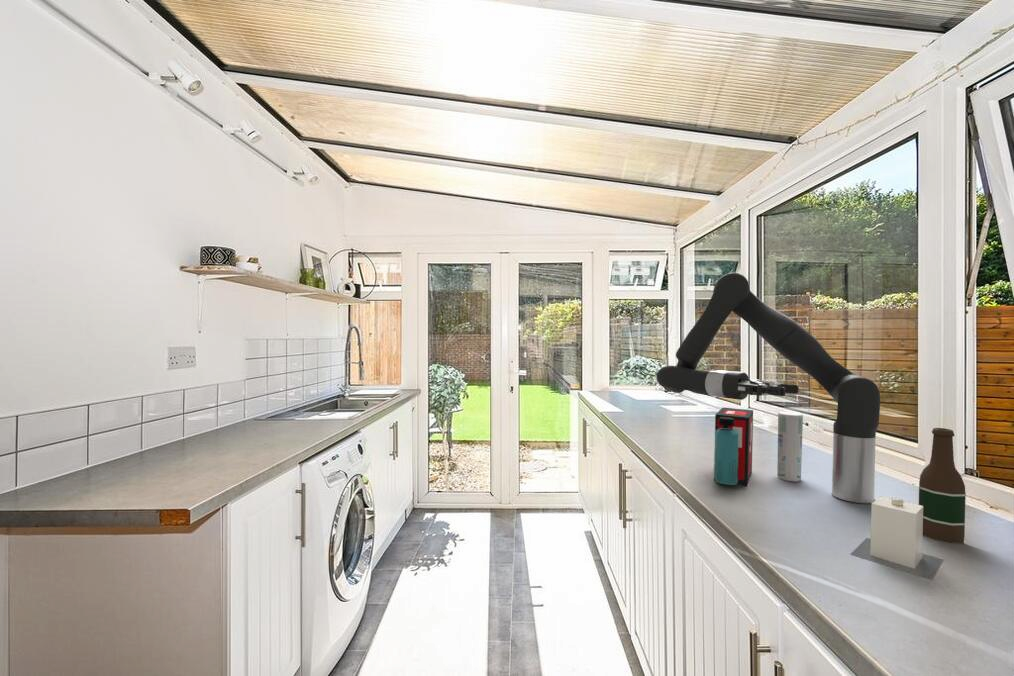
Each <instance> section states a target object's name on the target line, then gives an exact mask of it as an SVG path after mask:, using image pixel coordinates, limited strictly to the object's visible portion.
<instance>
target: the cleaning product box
mask: <svg viewBox="0 0 1014 676" xmlns="http://www.w3.org/2000/svg"><path fill="white" fill-rule="evenodd" d="M714 416H715V417H714V418H715V419H714V432H715V431H716V430H717V429H719V428H729V429H733V430H735V431H736V432H737V433H738V451H739V452H738V460H739V461H738V462H739V463H738V473H739V477H738V483H737V484H735V485H736V486H743V487H748V486H749V482H750V479H751V476H752V474H753V435H754V434H753V433H754V432H753V431H754V409H744V408H743V409H742V408H735V407H722V408H720V409H719V410H718V411H717V412H716V413H715V415H714ZM720 417H729V418H733V419H734V426H723V425H719V418H720ZM713 481H714V482H716V481H715V479H714V478H713Z"/></svg>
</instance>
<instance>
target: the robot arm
mask: <svg viewBox="0 0 1014 676" xmlns="http://www.w3.org/2000/svg"><path fill="white" fill-rule="evenodd" d="M750 288H751V287H750V282H749V280H748V279H747V277H746V276H745V275H743V274H741V273H739V272H728V273H726V274H723V275H721V276H720V277H719V278H718V280H717V281H716V282H715V284H714V287H713V291H712V296H711V298H710V299H709V302H708V304H707V306H706V307H705V308H704V311H703V313H702V314H701V316H700V317H699V319H698V320H697V321H696V322H695V324H694V325H693V326H692V328H691V329H690V331H689V332H688V333H687V335H686V336H685V338H684V340H683V341H682V343H681V344H680V346H679V347H678V349H677V351H676V352H675V357H676V359H677V363H676V365H665V366H662V367H661V368H660V369H658V370H657V371H658V372H656V380H657V383H658V384H659V386H661V387H662V388H663V389H666V390H668V391H670V392H672V393H675V394H680V393H683V392H684V391H688V392H691V393H694V394H697V395H704V396H705V395H706V396H712V397H715V398H723V399H733V400H738V401H739V400H740V401H743V400H745V399H746V398H747V397H748V396H749V395H750V396H758V397H760V396H761V397H762V396H775V397H776V396H777V397H778V396H779V397H785V396H786V394H794V395H797V394H799V388H800V387H799V385H798V384H789V383H788V384H786V383H783V382H781V381H779V382H778V381H772V380H761V379H756V378H755V379H749V376H748V374H747V373H746V372H744V371H733V370H732V371H731V370H730V371H729V370H706V369H697V367H698V364H699V363H700V362H701V360H702V358H703V357H704V355H705V353H706V352H707V350H708V349H709V347H710V346H711V344H712V342H713V340H714V339H715V337H716V335H717V333H718V332H719V330H720V328H722V326H723V323H725V321H726V320H727V318H728V317H729V316H730V315H731V313H733V314H735V315H737V316H738V317H739V318H741V319H743V320H744V321H745V322H746V323H747V324H748V325H749V326H750V327H751V328H752V329H753V330H754V332H756V333H757V334H758V335H759V336H760V337H761V338H762V339H763V340H764V341H765V342H767V344H769V346H771V347H772V349H775V350H776V351H777V352H778V354H780V355H781V356H783V357H784V358H785V359H787V360H788V361H789V362H791V363H792V364H793V365H795V367H797V368H799V369H801V370H802V371H803V372H805V373H806V374H808V375H809V376H810V377H811V378H813V379H814V380H815V381H816V382H817V383H818V384H819V385H820V386H821V387H822V388H823V389H824V390H825V391H826V392H827V393H828V394H829V395H830V396H831V397H832V398H833V400H834V401H835V402H836V403H837V407H836V408H837V409H836V419H835V421H834V422H833V427H832V430H833V434H832V468H831V469H832V473H831V476H832V477H831V494H832V496H833V497H835V498H837V499H839V500H842V501H847V502H851V503H857V504H872V503H873V502H874V501H875V479H876V478H875V477H876V474H875V473H876V439H877V430H878V427H879V425H880V413H881V411H880V410H881V392H880V389H879V387H878V385H877V384H876V383H875V382H874V381H873V380H871V379H870V378H868V377H863V376H861V375H857V374H855V373H854V372H852V371H850V370H849V369H848V368H846V367H845V366H843V365H842V364H840V363H839V362H838V361H836V360H835V359H834V358H833V356H831V355H830V354H829V353H828V352H827V350H826V349H825V348H824V346H823V345H821V343H820V342H819V341H818V340H817V338H815V336H814V335H813V334H811V333H810V332H809V331H808V330H807V329H805V328H804V327H803V326H802V325H800V323H798V322H797V321H796V320H794V319H793V318H791V317H790V316H787V315H786V314H784V313H782V312H780V311H779V310H777V309H775V308H774V307H771V306H770V305H768V304H766V303H765V302H764V301H762V300H761V299H760V298H759V297H758V296H757V295H756V294H754V293H753V292H752V291H751V289H750Z"/></svg>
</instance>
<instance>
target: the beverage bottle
mask: <svg viewBox="0 0 1014 676" xmlns="http://www.w3.org/2000/svg"><path fill="white" fill-rule="evenodd" d="M719 425H723V426H734V419H733V418H729V417H720V418H719ZM713 451H714V453H713V461H714V462H713V480H714V479H715V481H714V482H716V483H718V484H722V485H729V486H730V485H731V486H734V485H735V484H737V483H738V477H739V473H738V463H739V462H738V461H739V460H738V452H739V451H738V433H737V432H736V431H735V430H733V429H729V428H719V429H717V430H716V431H715V430H714V450H713Z"/></svg>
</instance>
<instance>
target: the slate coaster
mask: <svg viewBox="0 0 1014 676" xmlns="http://www.w3.org/2000/svg"><path fill="white" fill-rule="evenodd" d="M870 549H871V537H870V538H869V537H866V538H864V540H863V541H862V542H861V543H860V544H859V545H858V546H857V547H855V549H853V550H852V552H850V554H849V555H850V556H853V557H857V558H860V559H863V560H867V561H869V562H873V563H877V564H879V565H883V566H885V567H889V568H891V569H894V570H898V571H902V572H905V573H908V574H911V575H914V576H918V577H921V578H924V579H926V580H927V579H928V580H930V581H933V579H934V577H935V576H936V574H937V572H938V571H939V569H940V567H941V565H942V564H943V562H944V559H943V558H940V557H935V556H932V555H930V554H929V555H928V554H925V553H922V559H921V560H920V562H919V563H918V565H917V566H916V567H915V569H914V568H910V567H907V566H904V565H901V564H898V563H894V562H891V561H888V560H885V559H881V558H878V557H875V556H872V555H870Z"/></svg>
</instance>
